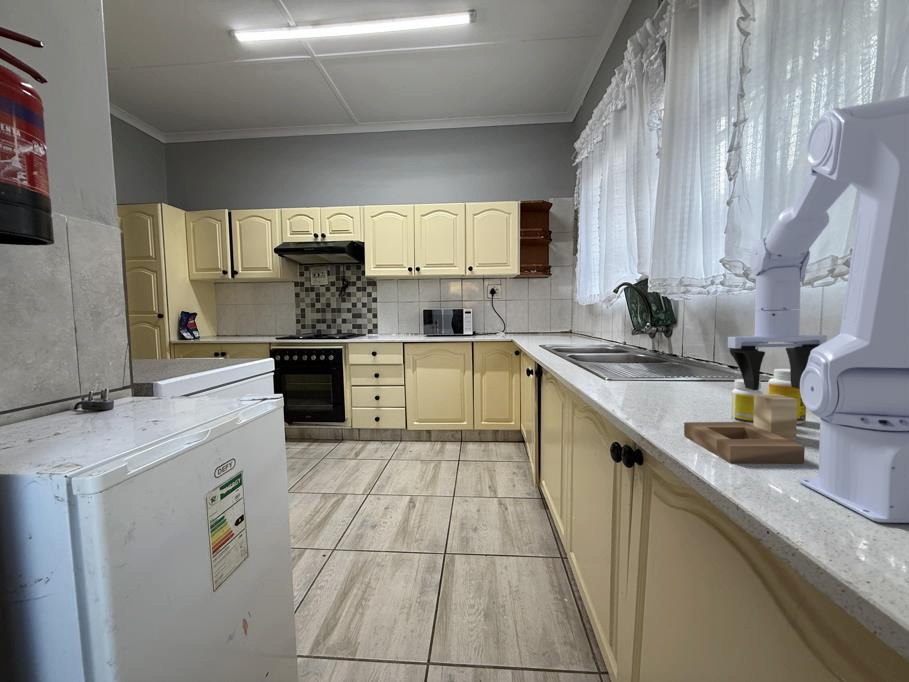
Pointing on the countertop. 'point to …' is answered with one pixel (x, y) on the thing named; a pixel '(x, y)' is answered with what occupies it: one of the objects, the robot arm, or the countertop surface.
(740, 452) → the collar block
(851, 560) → the countertop surface
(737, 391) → the supplement bottle
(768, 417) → the oak peg
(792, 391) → the supplement bottle
